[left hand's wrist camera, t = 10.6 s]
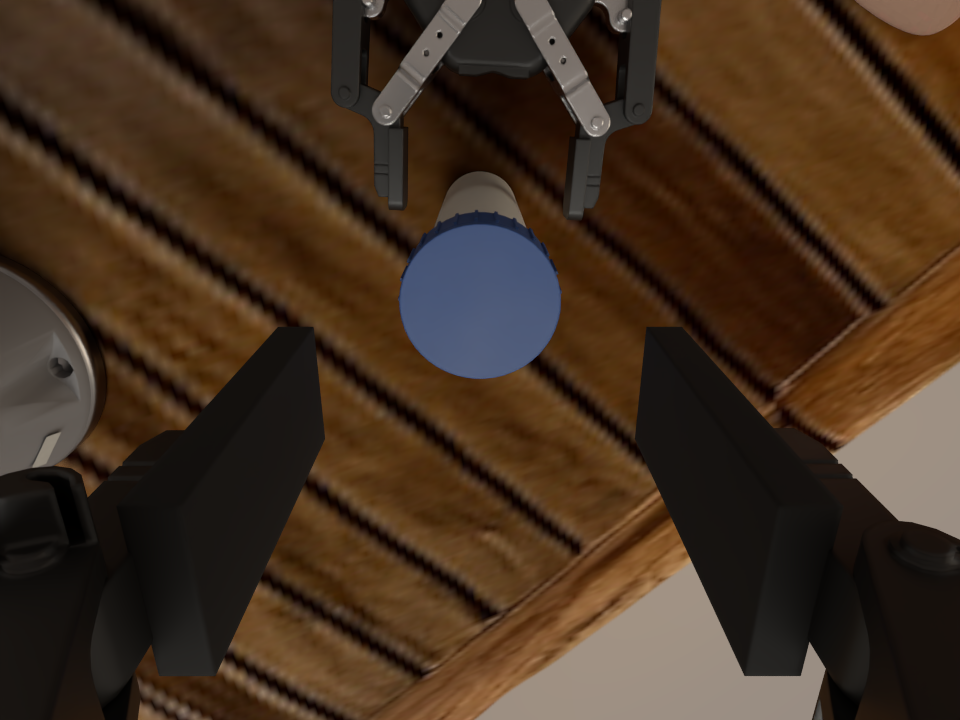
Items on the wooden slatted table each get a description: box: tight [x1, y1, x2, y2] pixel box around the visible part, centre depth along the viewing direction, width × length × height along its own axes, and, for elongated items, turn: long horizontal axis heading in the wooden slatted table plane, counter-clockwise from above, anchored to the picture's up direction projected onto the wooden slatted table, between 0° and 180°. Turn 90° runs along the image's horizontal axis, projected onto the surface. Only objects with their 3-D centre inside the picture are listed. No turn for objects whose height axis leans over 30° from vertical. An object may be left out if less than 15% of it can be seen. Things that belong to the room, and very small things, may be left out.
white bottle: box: [434, 171, 526, 227], centre depth 29 cm, size 4×4×19 cm
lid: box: [398, 210, 562, 379], centre depth 21 cm, size 5×5×2 cm
